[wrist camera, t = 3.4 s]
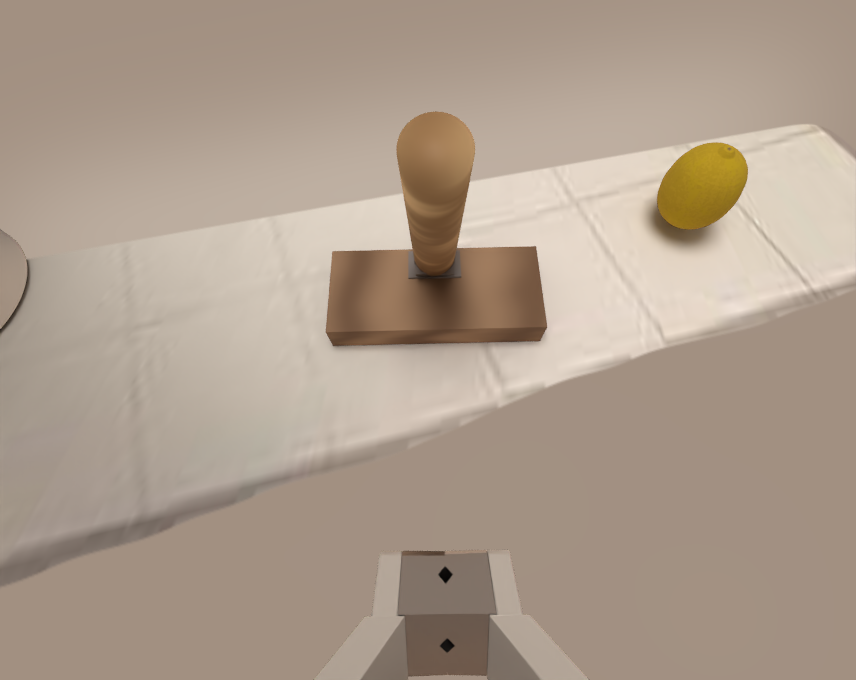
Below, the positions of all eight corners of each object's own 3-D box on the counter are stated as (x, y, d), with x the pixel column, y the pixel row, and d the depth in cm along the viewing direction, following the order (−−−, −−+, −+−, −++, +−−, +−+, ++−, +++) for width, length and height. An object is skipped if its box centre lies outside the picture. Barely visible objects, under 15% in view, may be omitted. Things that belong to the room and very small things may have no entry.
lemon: (640, 194, 40) (685, 117, 33) (703, 199, 40) (764, 123, 32) (643, 244, 38) (693, 174, 30) (711, 251, 37) (778, 181, 30)
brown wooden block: (333, 345, 35) (325, 330, 32) (338, 268, 37) (331, 250, 35) (539, 340, 34) (547, 325, 32) (529, 264, 37) (536, 244, 35)
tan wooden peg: (415, 279, 34) (397, 189, 17) (414, 240, 34) (395, 112, 17) (454, 278, 34) (476, 186, 17) (453, 239, 34) (473, 110, 17)
